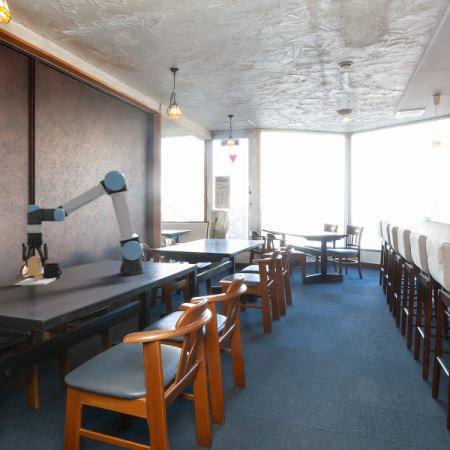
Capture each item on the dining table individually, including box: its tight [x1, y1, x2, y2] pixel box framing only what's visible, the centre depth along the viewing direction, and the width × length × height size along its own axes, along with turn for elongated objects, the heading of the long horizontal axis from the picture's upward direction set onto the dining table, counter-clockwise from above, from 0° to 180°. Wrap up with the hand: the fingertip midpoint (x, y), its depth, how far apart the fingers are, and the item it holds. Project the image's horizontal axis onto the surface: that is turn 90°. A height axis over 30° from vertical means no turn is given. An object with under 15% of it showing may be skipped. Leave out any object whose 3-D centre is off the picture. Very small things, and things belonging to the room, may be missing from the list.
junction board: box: [14, 275, 57, 286], centre depth 211 cm, size 16×20×7 cm
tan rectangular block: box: [27, 256, 43, 276], centre depth 209 cm, size 6×6×10 cm
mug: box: [41, 262, 63, 280], centre depth 221 cm, size 9×12×9 cm
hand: (35, 272), depth 210 cm, fingers closed on tan rectangular block, 6 cm apart
